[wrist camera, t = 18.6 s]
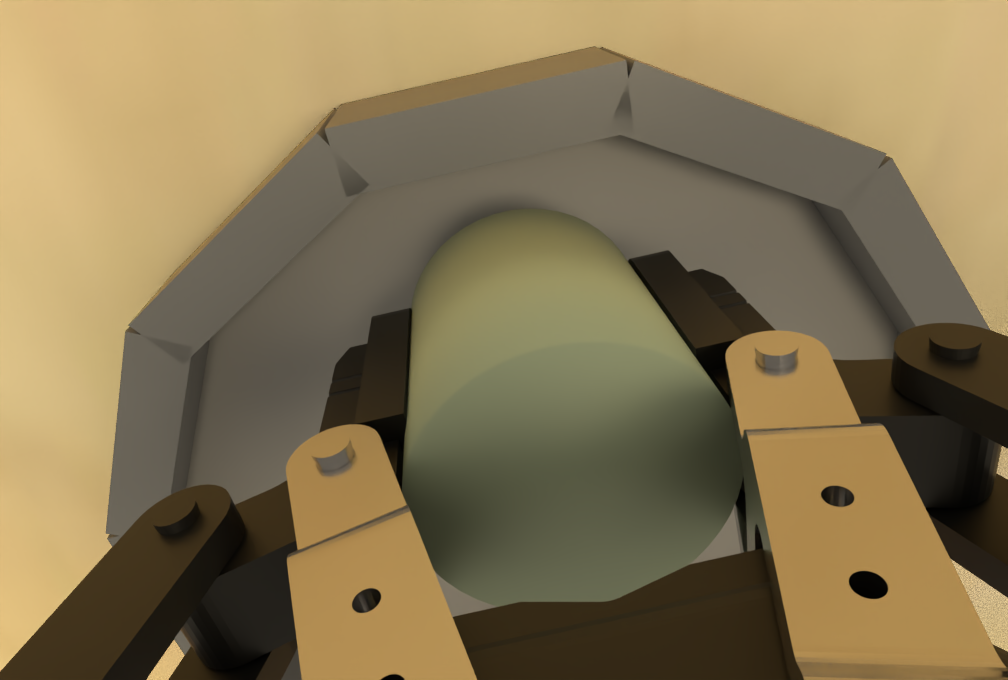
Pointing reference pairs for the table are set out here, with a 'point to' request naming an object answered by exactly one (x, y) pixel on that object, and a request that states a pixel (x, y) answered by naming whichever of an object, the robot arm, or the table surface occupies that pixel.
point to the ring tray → (490, 190)
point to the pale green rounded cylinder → (557, 419)
